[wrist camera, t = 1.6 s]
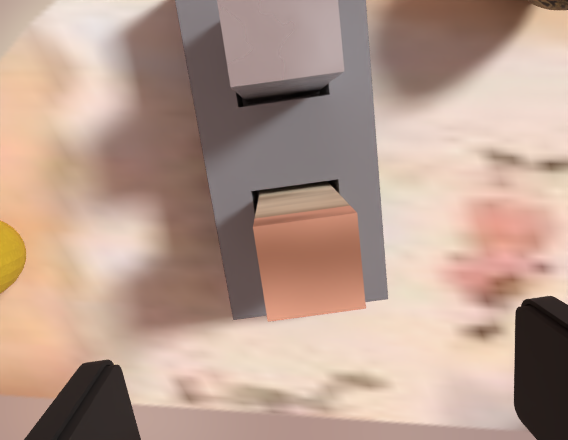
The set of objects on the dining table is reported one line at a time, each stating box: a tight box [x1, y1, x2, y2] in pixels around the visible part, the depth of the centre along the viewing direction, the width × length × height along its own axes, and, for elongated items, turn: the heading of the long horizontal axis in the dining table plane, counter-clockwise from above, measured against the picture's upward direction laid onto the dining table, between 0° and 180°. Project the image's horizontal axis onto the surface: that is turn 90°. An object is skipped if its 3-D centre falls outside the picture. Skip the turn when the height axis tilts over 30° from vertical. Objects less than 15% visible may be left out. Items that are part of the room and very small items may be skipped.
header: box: [175, 0, 388, 320], centre depth 25 cm, size 21×10×5 cm, turn 8°
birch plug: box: [253, 181, 366, 322], centre depth 22 cm, size 4×4×12 cm
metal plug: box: [217, 0, 344, 103], centre depth 20 cm, size 4×4×12 cm
